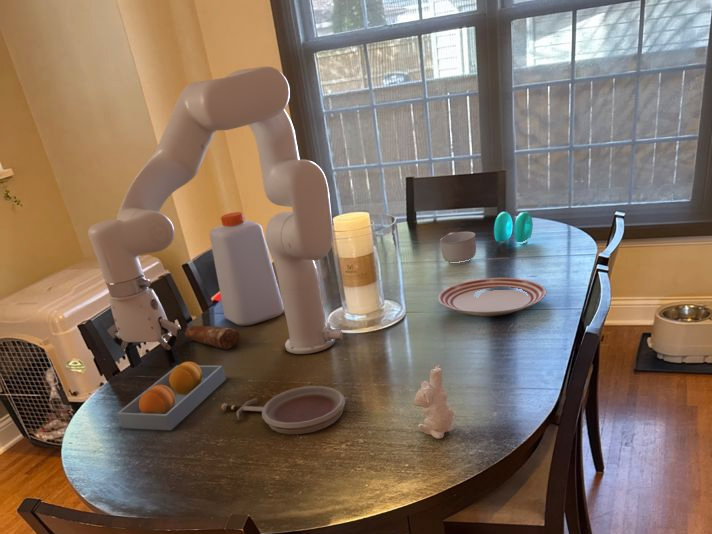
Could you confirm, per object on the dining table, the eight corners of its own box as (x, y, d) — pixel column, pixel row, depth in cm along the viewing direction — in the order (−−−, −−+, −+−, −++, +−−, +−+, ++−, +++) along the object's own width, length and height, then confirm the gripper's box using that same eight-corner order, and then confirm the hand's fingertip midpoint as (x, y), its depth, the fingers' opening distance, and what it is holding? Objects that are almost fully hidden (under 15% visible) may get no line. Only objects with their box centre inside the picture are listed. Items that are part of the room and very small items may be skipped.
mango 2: (209, 380, 156) (203, 357, 153) (190, 397, 149) (183, 373, 146) (188, 380, 158) (181, 357, 154) (168, 397, 151) (160, 373, 148)
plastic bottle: (266, 303, 201) (245, 205, 186) (290, 313, 190) (269, 210, 175) (220, 318, 195) (195, 218, 180) (242, 329, 184) (216, 224, 169)
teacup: (478, 264, 205) (477, 237, 201) (443, 269, 206) (441, 242, 201) (472, 252, 217) (471, 227, 212) (439, 257, 217) (437, 231, 213)
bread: (225, 354, 170) (219, 333, 167) (183, 342, 182) (177, 322, 179) (244, 345, 173) (239, 324, 170) (202, 334, 185) (196, 314, 182)
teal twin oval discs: (522, 248, 213) (522, 216, 207) (493, 248, 218) (492, 216, 212) (533, 240, 219) (534, 208, 214) (505, 239, 224) (504, 208, 219)
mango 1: (183, 404, 146) (175, 380, 143) (161, 423, 140) (153, 399, 136) (161, 403, 148) (153, 379, 145) (138, 422, 142) (129, 398, 138)
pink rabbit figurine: (428, 420, 126) (423, 361, 120) (462, 423, 123) (459, 363, 117) (412, 442, 120) (405, 382, 114) (447, 446, 117) (443, 384, 111)
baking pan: (226, 379, 156) (222, 365, 154) (171, 430, 137) (166, 415, 136) (181, 378, 160) (177, 365, 158) (121, 428, 142) (116, 413, 140)
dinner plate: (512, 280, 188) (512, 268, 186) (567, 306, 165) (568, 293, 163) (422, 302, 182) (421, 290, 181) (467, 333, 160) (466, 319, 158)
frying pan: (239, 383, 147) (356, 384, 137) (242, 395, 149) (358, 397, 138) (198, 420, 134) (324, 425, 124) (202, 433, 136) (327, 438, 125)
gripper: (174, 277, 133) (199, 356, 142) (103, 282, 139) (132, 357, 148) (154, 291, 127) (181, 372, 137) (81, 295, 133) (112, 373, 142)
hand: (155, 364), depth 142 cm, fingers open, 9 cm apart
